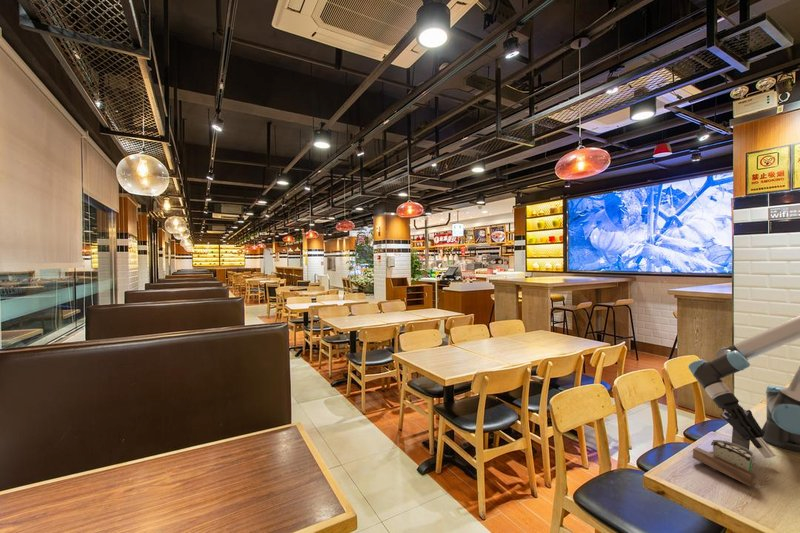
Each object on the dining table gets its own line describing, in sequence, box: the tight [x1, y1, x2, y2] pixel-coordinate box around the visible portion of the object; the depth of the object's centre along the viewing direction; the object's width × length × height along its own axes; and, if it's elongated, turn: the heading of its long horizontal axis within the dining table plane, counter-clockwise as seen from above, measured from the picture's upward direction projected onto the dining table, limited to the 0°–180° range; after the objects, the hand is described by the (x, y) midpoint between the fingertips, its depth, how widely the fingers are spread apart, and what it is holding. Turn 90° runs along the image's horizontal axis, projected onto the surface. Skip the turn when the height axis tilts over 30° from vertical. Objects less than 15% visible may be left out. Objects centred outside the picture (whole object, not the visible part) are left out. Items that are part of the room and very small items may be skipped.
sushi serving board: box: [692, 427, 757, 487], centre depth 128 cm, size 26×17×11 cm, turn 107°
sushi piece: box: [710, 439, 756, 472], centre depth 125 cm, size 12×6×10 cm, turn 17°
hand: (770, 456), depth 129 cm, fingers closed
